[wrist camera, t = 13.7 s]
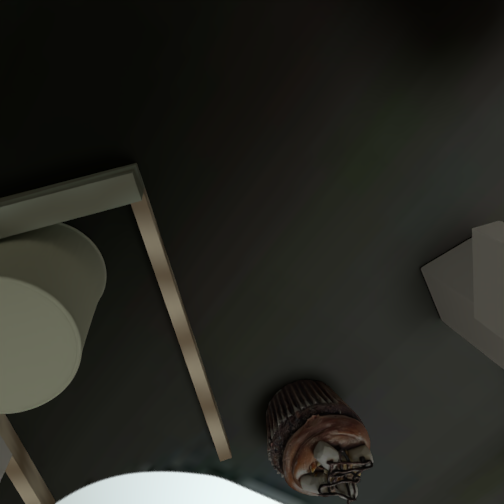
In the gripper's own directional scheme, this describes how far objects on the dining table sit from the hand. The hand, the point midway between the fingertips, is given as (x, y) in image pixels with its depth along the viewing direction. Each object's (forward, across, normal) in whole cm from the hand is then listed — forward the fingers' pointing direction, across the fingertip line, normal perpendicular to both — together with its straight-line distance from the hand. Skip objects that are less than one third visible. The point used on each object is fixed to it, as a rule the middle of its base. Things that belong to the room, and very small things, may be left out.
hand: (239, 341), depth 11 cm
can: (+25, -14, -5) cm, 29 cm away
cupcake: (+26, +4, -27) cm, 37 cm away
